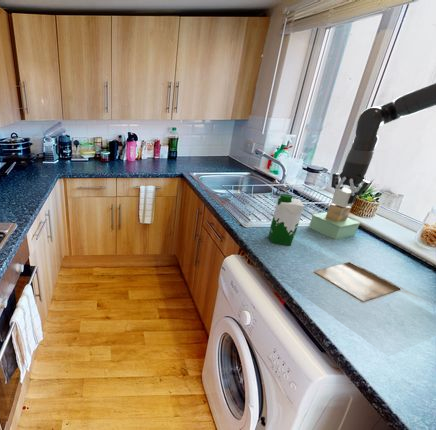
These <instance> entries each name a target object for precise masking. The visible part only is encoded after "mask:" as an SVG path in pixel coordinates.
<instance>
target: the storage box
mask: <svg viewBox="0 0 436 430" xmlns="http://www.w3.org/2000/svg"><path fill="white" fill-rule="evenodd" d="M327 212H328V211H325V212H324V211H323V212H318V213H313V214H311V219H310V223H309V225H308V228H310V229H311V230H314V231H316V232H318V233H320V234H322V235H324V236H326V237H329V238H331V239H332V240H334V241H336V240H341V239H344V238H350V237H355V235H356V234H357V231H358V229H359V226H360V225H361V224H362V222H361V221H359V220H356V219H353V218H350V217H349V216H348V217H347V220H344V221H339V222H337V221H334V220H332V219H329V218H327V217H326V215H327Z"/></svg>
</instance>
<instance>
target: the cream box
mask: <svg viewBox="0 0 436 430" xmlns="http://www.w3.org/2000/svg"><path fill="white" fill-rule="evenodd" d="M334 193H335V194H334ZM334 193H333V196H332V200H331V203H330V204H336V205H339V206H341V207H347V206H349V207H352V206H354V203H352V204H348V200H349V198H350V195H351V190H350V188H347V187H343V188H342V189H336V191H334Z"/></svg>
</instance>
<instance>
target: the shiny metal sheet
mask: <svg viewBox="0 0 436 430" xmlns="http://www.w3.org/2000/svg"><path fill="white" fill-rule="evenodd" d="M313 273H315V274H316V275H318V276H320V277H321V278H323V279H325V280H326V281H328V282H329V283H331V284H333V285H334V286H336V287H338V288H340V289H341V290H343V292H346V293H348V294H349V295H351V296H352V297H354V298H356V299H357V300H359V301H361V302H362V303H364V302H367V301H370V300H373V299H376V298H380V297H383V296H385V295H388V294H393V293H395V292H398V291H400V290H401V288H400V287H398V286H396V285H394V284H392V283H390V282H388V281H387V280H385V279H382V278H381V277H379V276H377V275H375V274H373V273H371V272H369V271H367V270H365V269H363V268H361V267H360V266H358V265H355V264H353V263H352V262H350V261H349V262H344V263H341V264H336V265H333V266H328V267H326V268H321V269H318V270H314V271H313Z"/></svg>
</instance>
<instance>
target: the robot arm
mask: <svg viewBox="0 0 436 430" xmlns="http://www.w3.org/2000/svg"><path fill="white" fill-rule="evenodd" d="M435 106H436V82H433V83H431V84H429V85H426V86H424V87H420V88H419V89H416V90H413V91H411V92H408V93H406V94H403V95H401V96H399V97H396V99H394V100H392V101H390V102H387V103H385V104H382V105H379V106H371V107H368V108H366V109H364V110H363V111H362V112H361V114H360V115H359V116H358V119H357V121H356V123H357V124H356V127H355V136H354V139H353V140H352V144H351V146H350V149H349V152H348V153H347V154H346V155H347V156H346V159H345V161H344V164H343V167H342V172H340V173H339V172H336V173H335V172H334V173H332V176H331V186H330V187H331V188H332V189H334V190H335V191H336V189H343V188H345V187H346V186H348V187H349V189H350V190H351V195H350V198H349V200H348V204H352V203H353V204H354V203H355V202H356V200H357V197H358V196H364V195H365V193H366V192H367V191H368V189H369V188H370V187H371V185H372V184H373V183H372V181H368V180H365V176H366V174H367V172H368V170H369V167H370V164H371V162H372V159H373V155H374V152H375V149H376V147H377V144H378V142H379V136H378V132H379V129H380V126H383V125H387V124H389V123H391V122H394V121H396V120H398V119H401V118H403V117H406V116H407V117H408V116H410V115H413V114H417V113H419V112H422V111H425V110H427V109H429V108H433V107H435ZM360 185H361V187H360ZM335 191H334V193H333V195H334V194H335Z"/></svg>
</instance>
